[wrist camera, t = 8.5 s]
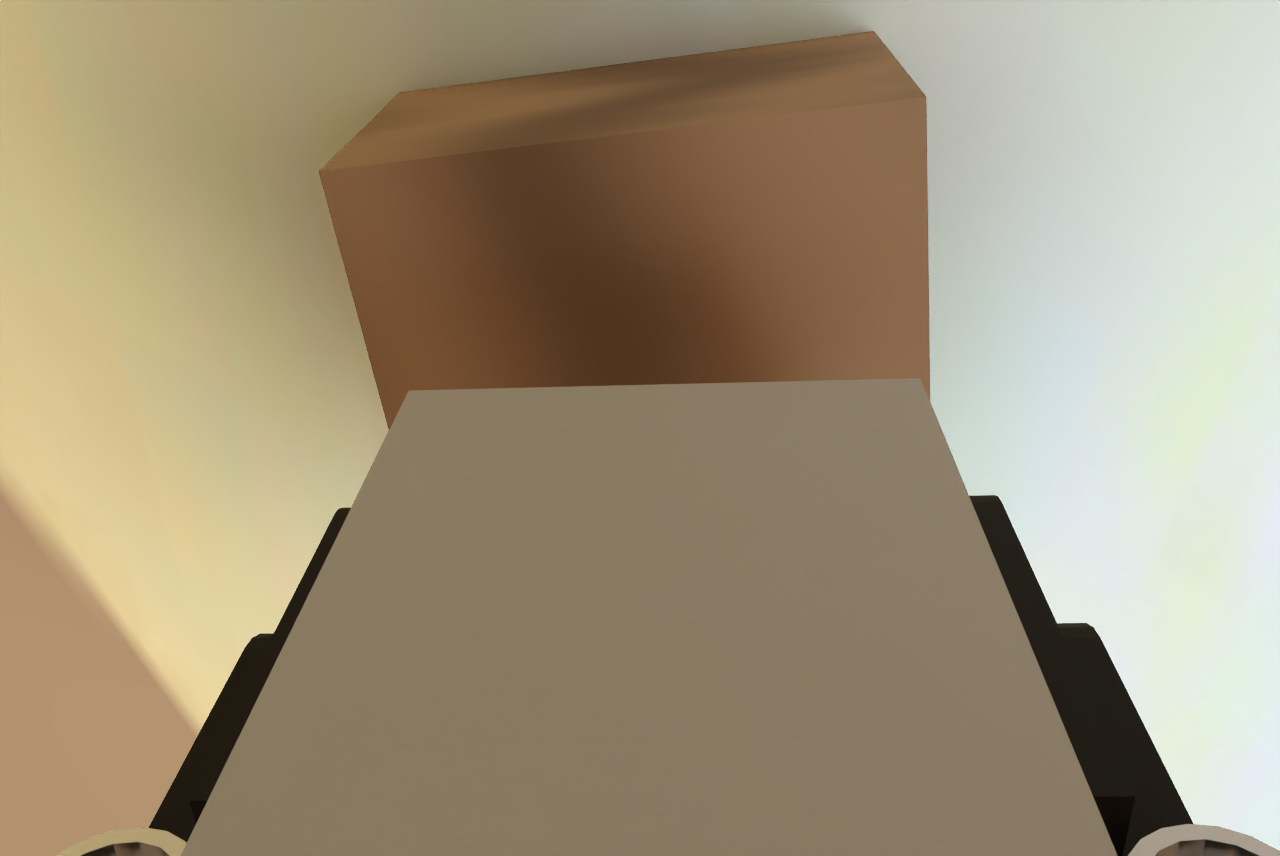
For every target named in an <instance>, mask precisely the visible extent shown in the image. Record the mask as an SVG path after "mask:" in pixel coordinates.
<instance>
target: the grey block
mask: <svg viewBox="0 0 1280 856" xmlns="http://www.w3.org/2000/svg"><path fill="white" fill-rule="evenodd" d="M181 856H1117V853H1116V851H1115V848H1114V846H1113V844H1112V841H1111V839H1110V836H1109V834H1108V831H1107V829H1106V827H1105V824H1104V822H1103V819H1102V817H1101V814H1100V812H1099V810H1098V807H1097V805H1096V802H1095V800H1094V798H1093V795H1092V793H1091V790H1090V788H1089V785H1088V783H1087V781H1086V778H1085V776H1084V773H1083V771H1082V768H1081V766H1080V764H1079V761H1078V759H1077V756H1076V754H1075V752H1074V749H1073V747H1072V744H1071V742H1070V739H1069V737H1068V735H1067V732H1066V730H1065V727H1064V725H1063V722H1062V720H1061V718H1060V715H1059V713H1058V710H1057V708H1056V706H1055V703H1054V701H1053V698H1052V696H1051V693H1050V691H1049V689H1048V686H1047V684H1046V681H1045V679H1044V676H1043V674H1042V672H1041V669H1040V667H1039V664H1038V662H1037V660H1036V657H1035V655H1034V652H1033V650H1032V647H1031V645H1030V643H1029V640H1028V638H1027V635H1026V633H1025V631H1024V628H1023V626H1022V623H1021V621H1020V618H1019V616H1018V614H1017V611H1016V609H1015V606H1014V604H1013V601H1012V599H1011V597H1010V594H1009V592H1008V589H1007V587H1006V585H1005V582H1004V580H1003V577H1002V575H1001V572H1000V570H999V568H998V565H997V563H996V560H995V558H994V555H993V553H992V551H991V548H990V546H989V543H988V541H987V539H986V536H985V534H984V531H983V529H982V526H981V524H980V522H979V519H978V517H977V514H976V512H975V509H974V507H973V505H972V502H971V500H970V497H969V495H968V493H967V490H966V488H965V485H964V483H963V480H962V478H961V476H960V473H959V471H958V468H957V466H956V463H955V461H954V459H953V456H952V454H951V451H950V449H949V447H948V444H947V442H946V439H945V437H944V434H943V432H942V430H941V427H940V425H939V422H938V420H937V417H936V415H935V413H934V410H933V408H932V405H931V403H930V401H929V398H928V396H927V393H926V391H925V388H924V386H923V384H922V381H921V379H920V378H907V379H865V380H824V381H783V382H741V383H700V384H659V385H617V386H576V387H535V388H493V389H452V390H411V391H408V393H407V395H406V397H405V399H404V401H403V403H402V405H401V407H400V409H399V411H398V413H397V416H396V418H395V420H394V422H393V424H392V426H391V428H390V430H389V432H388V434H387V436H386V438H385V440H384V442H383V444H382V446H381V448H380V450H379V452H378V454H377V456H376V458H375V460H374V462H373V464H372V467H371V469H370V471H369V473H368V475H367V477H366V479H365V481H364V483H363V485H362V487H361V489H360V491H359V493H358V495H357V497H356V499H355V501H354V503H353V505H352V507H351V509H350V511H349V513H348V515H347V517H346V520H345V522H344V524H343V526H342V528H341V530H340V532H339V534H338V536H337V538H336V540H335V542H334V544H333V546H332V548H331V550H330V552H329V554H328V556H327V558H326V560H325V562H324V564H323V566H322V568H321V570H320V573H319V575H318V577H317V579H316V581H315V583H314V585H313V587H312V589H311V591H310V593H309V595H308V597H307V599H306V601H305V603H304V605H303V607H302V609H301V611H300V613H299V615H298V617H297V619H296V621H295V623H294V626H293V628H292V630H291V632H290V634H289V636H288V638H287V640H286V642H285V644H284V646H283V648H282V650H281V652H280V654H279V656H278V658H277V660H276V662H275V664H274V666H273V668H272V670H271V672H270V674H269V677H268V679H267V681H266V683H265V685H264V687H263V689H262V691H261V693H260V695H259V697H258V699H257V701H256V703H255V705H254V707H253V709H252V711H251V713H250V715H249V717H248V719H247V721H246V723H245V725H244V727H243V730H242V732H241V734H240V736H239V738H238V740H237V742H236V744H235V746H234V748H233V750H232V752H231V754H230V756H229V758H228V760H227V762H226V764H225V766H224V768H223V770H222V772H221V774H220V776H219V778H218V780H217V783H216V785H215V787H214V789H213V791H212V793H211V795H210V797H209V799H208V801H207V803H206V805H205V807H204V809H203V811H202V813H201V815H200V817H199V819H198V821H197V823H196V825H195V827H194V829H193V831H192V833H191V836H190V838H189V840H188V842H187V844H186V846H185V848H184V850H183V852H182V854H181Z"/></svg>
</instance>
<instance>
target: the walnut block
mask: <svg viewBox="0 0 1280 856" xmlns="http://www.w3.org/2000/svg"><path fill="white" fill-rule="evenodd" d="M319 173H320V177H321V181H322V184H323V188H324V192H325V196H326V199H327V203H328V207H329V210H330V214H331V218H332V221H333V225H334V229H335V233H336V236H337V240H338V244H339V247H340V251H341V255H342V258H343V262H344V266H345V269H346V273H347V277H348V281H349V284H350V288H351V292H352V295H353V299H354V303H355V306H356V310H357V314H358V317H359V321H360V325H361V329H362V332H363V336H364V340H365V343H366V347H367V351H368V354H369V358H370V362H371V365H372V369H373V373H374V377H375V380H376V384H377V388H378V391H379V395H380V399H381V402H382V406H383V410H384V413H385V417H386V421H387V425H388V428H389V430H390V428H391V426H392V424H393V422H394V420H395V418H396V416H397V413H398V411H399V409H400V407H401V405H402V403H403V401H404V399H405V397H406V395H407V393H408V391H411V390H452V389H493V388H535V387H576V386H617V385H659V384H700V383H741V382H783V381H824V380H865V379H907V378H920V379H921V381H922V384H923V386H924V388H925V391H926V393H927V396H928V398H929V401H930V358H929V279H928V201H927V123H926V96H925V95H924V93H923V92H922V91H921V90H920V88H919V87H918V86H917V85H916V83H915V82H914V81H913V80H912V78H911V77H910V76H909V75H908V73H907V72H906V71H905V70H904V68H903V67H902V66H901V65H900V63H899V62H898V61H897V60H896V58H895V57H894V56H893V55H892V53H891V52H890V51H889V50H888V48H887V47H886V46H885V44H884V43H883V42H882V41H881V39H880V38H879V37H878V36H877V34H876V33H875V32H874V31H873V32H865V33H857V34H849V35H842V36H834V37H826V38H818V39H811V40H803V41H795V42H787V43H780V44H772V45H764V46H756V47H749V48H741V49H733V50H726V51H718V52H710V53H702V54H695V55H687V56H679V57H671V58H664V59H656V60H648V61H640V62H633V63H625V64H617V65H610V66H602V67H594V68H586V69H579V70H571V71H563V72H555V73H548V74H540V75H532V76H524V77H517V78H509V79H501V80H493V81H486V82H478V83H470V84H463V85H455V86H447V87H439V88H432V89H424V90H416V91H408V92H401V93H400V94H398V95H397V96H396V97H395V98H394V99H393V100H392V101H391V102H390V103H389V104H388V105H387V106H386V107H385V108H384V109H383V110H382V111H381V112H380V113H379V114H378V115H377V116H376V117H375V118H374V119H373V120H372V121H371V122H369V123H368V124H367V125H366V126H365V127H364V128H363V129H362V130H361V131H360V132H359V133H358V134H357V135H356V136H355V137H354V138H353V139H352V140H351V141H350V142H349V143H348V144H347V145H346V146H345V147H344V148H343V149H342V150H340V151H339V152H338V153H337V154H336V155H335V156H334V157H333V158H332V159H331V160H330V161H329V162H328V163H327V164H326V165H325V166H324V167H323V168H322V169H321V170H320V171H319Z"/></svg>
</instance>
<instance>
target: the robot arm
mask: <svg viewBox="0 0 1280 856" xmlns="http://www.w3.org/2000/svg"><path fill="white" fill-rule="evenodd" d="M969 497H970V500H971V502H972V505H973V507H974V509H975V512H976V514H977V517H978V519H979V522H980V524H981V526H982V529H983V531H984V534H985V536H986V539H987V541H988V543H989V546H990V548H991V551H992V553H993V555H994V558H995V560H996V563H997V565H998V568H999V570H1000V572H1001V575H1002V577H1003V580H1004V582H1005V585H1006V587H1007V589H1008V592H1009V594H1010V597H1011V599H1012V601H1013V604H1014V606H1015V609H1016V611H1017V614H1018V616H1019V618H1020V621H1021V623H1022V626H1023V628H1024V631H1025V633H1026V635H1027V638H1028V640H1029V643H1030V645H1031V647H1032V650H1033V652H1034V655H1035V657H1036V660H1037V662H1038V664H1039V667H1040V669H1041V672H1042V674H1043V676H1044V679H1045V681H1046V684H1047V686H1048V689H1049V691H1050V693H1051V696H1052V698H1053V701H1054V703H1055V706H1056V708H1057V710H1058V713H1059V715H1060V718H1061V720H1062V722H1063V725H1064V727H1065V730H1066V732H1067V735H1068V737H1069V739H1070V742H1071V744H1072V747H1073V749H1074V752H1075V754H1076V756H1077V759H1078V761H1079V764H1080V766H1081V768H1082V771H1083V773H1084V776H1085V778H1086V781H1087V783H1088V785H1089V788H1090V790H1091V793H1092V795H1093V798H1094V800H1095V802H1096V805H1097V807H1098V810H1099V812H1100V814H1101V817H1102V819H1103V822H1104V824H1105V827H1106V829H1107V831H1108V834H1109V836H1110V839H1111V841H1112V844H1113V846H1114V848H1115V851H1116V853H1117V856H1280V851H1279V850H1277V849H1275V848H1273V847H1271V846H1269V845H1267V844H1265V843H1263V842H1261V841H1259V840H1257V839H1255V838H1254V837H1252V836H1249V835H1245V834H1242V833H1239V832H1235V831H1232V830H1229V829H1225V828H1222V827H1218V826H1207V825H1195V824H1193V822H1192V820H1191V818H1190V816H1189V814H1188V812H1187V810H1186V808H1185V806H1184V804H1183V802H1182V800H1181V798H1180V796H1179V794H1178V792H1177V790H1176V788H1175V786H1174V784H1173V782H1172V780H1171V778H1170V776H1169V774H1168V772H1167V770H1166V768H1165V766H1164V764H1163V762H1162V760H1161V758H1160V756H1159V754H1158V752H1157V750H1156V748H1155V746H1154V744H1153V742H1152V740H1151V738H1150V736H1149V734H1148V732H1147V730H1146V728H1145V726H1144V724H1143V722H1142V720H1141V718H1140V716H1139V714H1138V712H1137V710H1136V708H1135V706H1134V704H1133V702H1132V700H1131V698H1130V696H1129V694H1128V692H1127V690H1126V688H1125V686H1124V684H1123V682H1122V680H1121V678H1120V676H1119V674H1118V672H1117V670H1116V668H1115V666H1114V664H1113V662H1112V660H1111V658H1110V656H1109V654H1108V652H1107V650H1106V648H1105V646H1104V644H1103V642H1102V640H1101V638H1100V637H1099V635H1098V634H1097V632H1096V631H1095V629H1094V628H1093V627H1092V626H1090V625H1088V624H1087V623H1062V624H1057V623H1056V621H1055V618H1054V616H1053V614H1052V612H1051V610H1050V607H1049V605H1048V603H1047V601H1046V599H1045V596H1044V594H1043V592H1042V590H1041V588H1040V585H1039V583H1038V581H1037V579H1036V577H1035V575H1034V572H1033V570H1032V568H1031V566H1030V564H1029V561H1028V559H1027V557H1026V555H1025V553H1024V550H1023V548H1022V546H1021V544H1020V542H1019V539H1018V537H1017V535H1016V533H1015V531H1014V528H1013V526H1012V524H1011V522H1010V520H1009V517H1008V515H1007V513H1006V511H1005V509H1004V506H1003V504H1002V502H1001V500H1000V499H999V497H998V496H995V495H989V496H969ZM350 509H351V508H340V509H338V510H337V512H336V513H335V515H334V517H333V519H332V521H331V522H330V524H329V526H328V528H327V530H326V532H325V534H324V536H323V538H322V540H321V542H320V544H319V546H318V548H317V550H316V552H315V554H314V556H313V558H312V560H311V562H310V564H309V566H308V568H307V570H306V572H305V574H304V576H303V577H302V579H301V581H300V583H299V585H298V587H297V589H296V591H295V593H294V595H293V597H292V599H291V601H290V603H289V605H288V607H287V609H286V611H285V613H284V615H283V617H282V619H281V621H280V623H279V625H278V627H277V629H276V630H275V632H274V634H259V635H257V636H255V637H253V638H252V639H251V640H250V642H249V643H248V644H247V646H246V647H245V649H244V651H243V652H242V654H241V656H240V658H239V660H238V662H237V664H236V666H235V667H234V669H233V671H232V673H231V675H230V677H229V679H228V680H227V682H226V684H225V686H224V688H223V690H222V692H221V694H220V695H219V697H218V699H217V701H216V703H215V705H214V707H213V708H212V710H211V712H210V714H209V716H208V718H207V720H206V722H205V723H204V725H203V727H202V729H201V731H200V733H199V735H198V736H197V738H196V740H195V742H194V744H193V746H192V748H191V750H190V751H189V753H188V755H187V757H186V759H185V761H184V763H183V765H182V766H181V768H180V770H179V772H178V774H177V776H176V778H175V780H174V781H173V783H172V785H171V787H170V789H169V791H168V793H167V794H166V796H165V798H164V800H163V802H162V804H161V806H160V808H159V809H158V811H157V813H156V815H155V817H154V819H153V821H152V822H151V825H150V826H149V828H145V827H141V828H132V829H121V830H114V831H111V832H108V833H105V834H102V835H98V836H96V837H92V838H89V839H86V840H84V841H82V842H80V843H78V844H76V845H75V846H73V847H71V848H69V849H67V850H65V851H63V852H61V853H59V854H58V855H56V856H181V854H182V852H183V850H184V848H185V846H186V844H187V842H188V840H189V838H190V836H191V833H192V831H193V829H194V827H195V825H196V823H197V821H198V819H199V817H200V815H201V813H202V811H203V809H204V807H205V805H206V803H207V801H208V799H209V797H210V795H211V793H212V791H213V789H214V787H215V785H216V783H217V780H218V778H219V776H220V774H221V772H222V770H223V768H224V766H225V764H226V762H227V760H228V758H229V756H230V754H231V752H232V750H233V748H234V746H235V744H236V742H237V740H238V738H239V736H240V734H241V732H242V730H243V727H244V725H245V723H246V721H247V719H248V717H249V715H250V713H251V711H252V709H253V707H254V705H255V703H256V701H257V699H258V697H259V695H260V693H261V691H262V689H263V687H264V685H265V683H266V681H267V679H268V677H269V674H270V672H271V670H272V668H273V666H274V664H275V662H276V660H277V658H278V656H279V654H280V652H281V650H282V648H283V646H284V644H285V642H286V640H287V638H288V636H289V634H290V632H291V630H292V628H293V626H294V623H295V621H296V619H297V617H298V615H299V613H300V611H301V609H302V607H303V605H304V603H305V601H306V599H307V597H308V595H309V593H310V591H311V589H312V587H313V585H314V583H315V581H316V579H317V577H318V575H319V573H320V570H321V568H322V566H323V564H324V562H325V560H326V558H327V556H328V554H329V552H330V550H331V548H332V546H333V544H334V542H335V540H336V538H337V536H338V534H339V532H340V530H341V528H342V526H343V524H344V522H345V520H346V517H347V515H348V513H349V511H350Z"/></svg>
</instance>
